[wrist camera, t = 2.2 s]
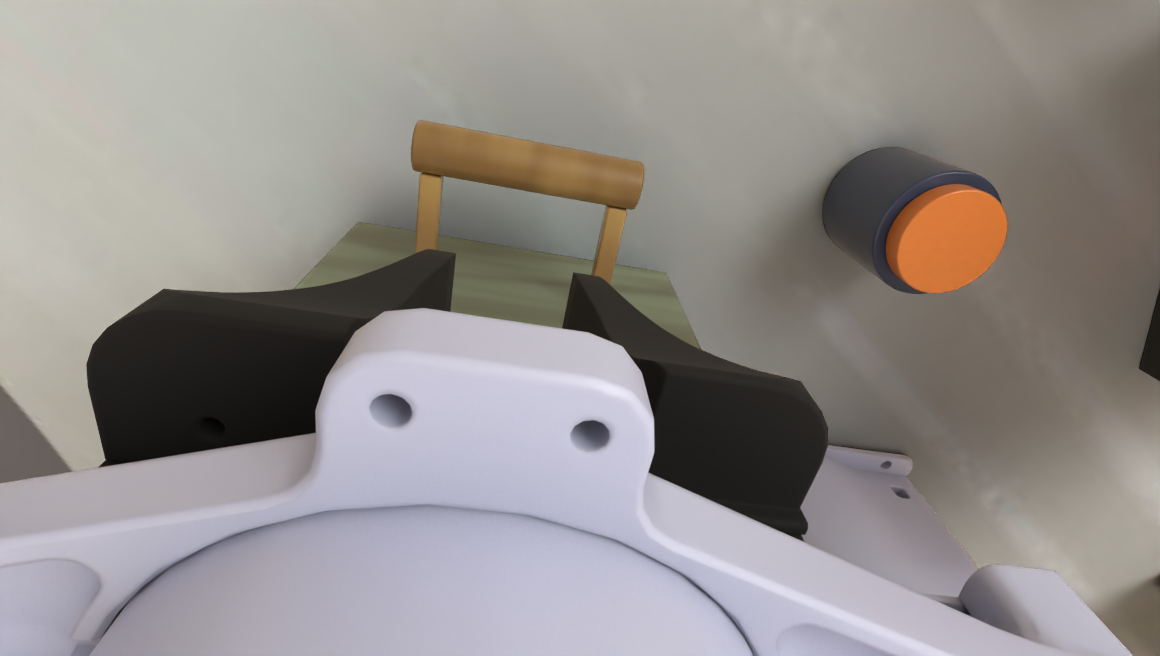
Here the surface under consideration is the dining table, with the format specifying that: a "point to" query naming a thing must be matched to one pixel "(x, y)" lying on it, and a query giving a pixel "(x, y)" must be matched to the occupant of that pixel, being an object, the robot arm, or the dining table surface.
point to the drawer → (502, 273)
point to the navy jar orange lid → (915, 220)
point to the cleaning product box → (1153, 346)
